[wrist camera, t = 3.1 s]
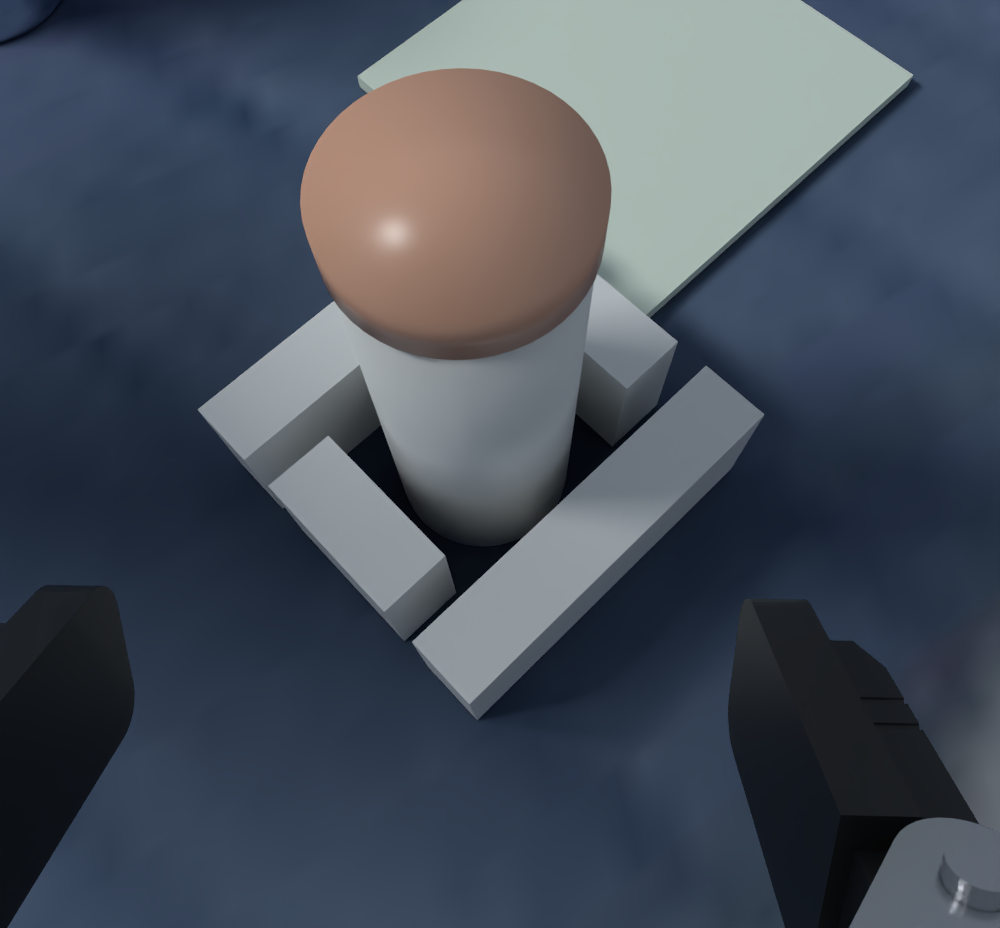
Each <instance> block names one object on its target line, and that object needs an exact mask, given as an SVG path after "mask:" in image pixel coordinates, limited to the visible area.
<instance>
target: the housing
mask: <svg viewBox="0 0 1000 928" xmlns="http://www.w3.org/2000/svg"><path fill="white" fill-rule="evenodd" d="M677 343H678V341H676V340H675V339H674V338H673V337H672V336H670V335H669V334H668V333H667V332H666V331H665V330H663V329H662V328H661V327H660V326H659V325H657V324H656V323H655V322H654V321H653V320H651V319H650V318H649V317H648V316H647V315H645V314H644V313H643V312H642V311H641V310H640V309H638V308H637V307H636V306H635V305H634V304H632V303H631V302H630V301H629V300H628V299H626V298H625V297H624V296H623V295H622V294H620V293H619V292H618V291H617V290H616V289H615V288H613V287H612V286H611V285H610V284H609V283H607V282H606V281H605V280H604V279H603V278H601V277H600V276H599V275H598V274H597V276H596V279H595V281H594V285H593V292H592V299H591V306H590V313H589V320H588V327H587V334H586V341H585V348H584V356H583V363H582V370H581V377H580V384H579V391H578V398H577V405H576V412H575V413H576V414H577V415H578V416H579V417H580V418H581V419H582V420H583V421H585V422H586V423H587V424H588V425H589V426H590V427H591V428H592V429H593V430H594V431H596V432H597V433H598V434H599V435H600V436H601V437H602V438H603V439H604V440H605V441H607V442H608V443H609V444H610V445H611V446H613V445H615V444H616V443H617V442H618V441H619V440H620V439H621V438H622V437H623V436H624V435H625V434H626V433H627V432H628V431H629V430H631V429H632V428H633V427H634V426H635V425H636V424H637V423H638V422H639V421H640V420H641V419H642V418H643V417H644V416H645V415H647V414H648V413H649V412H650V411H651V410H652V409H653V408H654V407H655V406H656V405H657V403H658V400H659V397H660V394H661V391H662V388H663V385H664V382H665V379H666V376H667V373H668V370H669V367H670V364H671V361H672V358H673V355H674V352H675V349H676V346H677ZM197 410H198V411H199V412H200V413H201V415H202V416H203V417H204V418H205V419H206V421H207V422H208V423H209V424H210V426H211V427H212V428H213V429H214V431H215V432H216V433H217V434H218V435H219V437H220V438H221V439H222V440H223V442H224V443H225V444H226V445H227V447H228V448H229V449H230V450H231V452H232V453H233V454H234V455H235V456H236V458H237V459H238V460H239V461H240V463H241V464H242V465H243V466H244V467H245V468H246V469H247V470H248V472H249V473H250V474H251V475H252V476H253V477H254V478H255V479H256V480H257V481H258V482H259V483H260V485H261V486H262V487H263V488H264V489H265V490H266V491H267V492H268V493H269V494H270V495H271V497H272V498H273V499H274V500H275V501H276V502H277V503H278V504H279V505H280V506H281V507H282V509H283V508H284V507H285V508H286V510H287V511H288V512H289V513H290V515H291V516H292V517H293V519H294V520H295V521H296V522H297V524H298V525H299V526H300V527H301V529H302V530H303V531H304V532H305V534H306V535H307V536H308V537H309V538H310V539H311V540H312V541H313V542H314V543H315V544H316V546H317V547H318V548H319V549H320V550H321V551H322V552H323V553H324V554H325V555H326V556H327V557H328V559H329V560H330V561H331V562H332V563H333V564H334V565H335V566H336V567H337V568H338V569H339V571H340V572H341V573H342V574H343V575H344V576H345V577H346V578H347V579H348V580H349V581H350V582H351V584H352V585H353V586H354V587H355V588H356V589H357V590H358V591H359V592H360V593H361V594H362V596H363V597H364V598H365V599H366V600H367V601H368V602H369V603H370V604H371V605H372V606H373V608H374V609H375V610H376V611H377V612H378V613H379V614H380V615H381V616H382V617H383V618H384V619H385V621H386V622H387V623H388V624H389V625H390V626H391V627H392V628H393V629H394V630H395V631H396V633H397V634H398V635H399V636H400V637H401V638H402V639H403V640H404V641H405V640H406V639H407V638H408V637H410V636H411V635H412V634H413V633H414V632H415V631H416V630H417V629H418V628H419V627H420V626H421V625H422V624H423V623H424V622H426V621H427V620H428V619H429V618H430V617H431V616H432V615H433V614H434V613H435V612H436V611H437V610H438V609H439V608H441V607H442V606H443V605H444V604H445V603H446V602H447V601H448V600H449V599H450V598H451V597H452V596H453V595H454V594H455V593H456V590H455V587H454V583H453V580H452V577H451V573H450V570H449V567H448V563H447V560H446V557H445V555H444V554H443V553H442V552H441V551H440V550H439V549H438V548H437V547H436V546H435V545H434V544H433V543H432V542H431V541H430V540H429V539H428V538H427V537H426V535H425V534H424V533H423V532H422V531H421V530H420V529H419V528H418V527H417V526H416V525H415V524H414V523H413V522H412V521H411V520H410V519H409V518H408V517H407V516H406V515H405V514H404V513H403V512H402V511H401V510H400V509H399V508H398V507H397V506H396V505H395V504H394V503H393V502H392V501H391V500H390V498H389V497H388V496H387V495H386V494H385V493H384V492H383V491H382V490H381V489H380V488H379V487H378V486H377V485H376V484H375V483H374V482H373V481H372V480H371V479H370V478H369V477H368V476H367V475H366V474H365V473H364V472H363V471H362V470H361V469H360V468H359V467H358V466H357V465H356V464H355V462H354V461H353V460H352V459H351V458H350V457H349V456H348V455H347V454H348V453H349V452H350V451H351V450H352V449H354V448H355V447H356V446H357V445H358V444H359V443H361V442H362V441H363V440H364V439H365V438H367V437H368V436H369V435H370V434H371V433H372V432H374V431H375V430H376V429H377V428H378V427H379V426H381V423H380V420H379V418H378V415H377V412H376V409H375V406H374V404H373V401H372V398H371V395H370V393H369V390H368V387H367V384H366V382H365V379H364V376H363V373H362V370H361V368H360V365H359V362H358V359H357V357H356V354H355V351H354V348H353V346H352V343H351V340H350V337H349V334H348V332H347V329H346V326H345V323H344V321H343V318H342V315H341V312H340V309H339V307H338V306H337V304H336V303H335V301H333V302H332V303H331V304H330V305H328V306H327V307H326V308H325V309H323V310H322V311H321V312H319V313H318V314H317V315H316V316H314V317H313V318H312V319H311V320H309V321H308V322H307V323H306V324H304V325H303V326H302V327H301V328H299V329H298V330H297V331H296V332H294V333H293V334H292V335H291V336H289V337H288V338H287V339H286V340H284V341H283V342H282V343H281V344H279V345H278V346H277V347H275V348H274V349H273V350H272V351H270V352H269V353H268V354H267V355H265V356H264V357H263V358H262V359H260V360H259V361H258V362H257V363H255V364H254V365H253V366H252V367H250V368H249V369H248V370H247V371H245V372H244V373H243V374H242V375H240V376H239V377H238V378H236V379H235V380H234V381H233V382H231V383H230V384H229V385H228V386H226V387H225V388H224V389H223V390H221V391H220V392H219V393H218V394H216V395H215V396H214V397H213V398H211V399H210V400H209V401H208V402H206V403H205V404H204V405H203V406H201V407H200V408H199V409H197ZM764 415H765V414H763V413H762V412H761V411H760V410H759V409H757V408H756V407H755V406H754V405H753V404H751V403H750V402H749V401H748V400H747V399H745V398H744V397H743V396H742V395H741V394H740V393H738V392H737V391H736V390H735V389H734V388H732V387H731V386H730V385H729V384H728V383H726V382H725V381H724V380H723V379H722V378H720V377H719V376H718V375H717V374H716V373H715V372H713V371H712V370H711V369H710V368H709V367H707V366H705V367H704V368H703V369H702V370H701V371H700V372H699V373H698V374H697V375H695V376H694V377H693V378H692V379H691V380H690V381H689V382H688V383H687V384H686V385H685V386H684V387H683V388H682V389H681V390H680V391H678V392H677V393H676V394H675V395H674V396H673V397H672V398H671V399H670V400H669V401H668V402H667V403H666V404H665V405H664V406H662V407H661V408H660V409H659V410H658V411H657V412H656V413H655V414H654V415H653V416H652V417H651V418H650V419H649V420H648V421H647V422H645V423H644V424H643V425H642V426H641V427H640V428H639V429H638V430H637V431H636V432H635V433H634V434H633V435H632V436H631V437H629V438H628V439H627V440H626V441H625V442H624V443H623V444H622V445H621V446H620V447H619V448H618V449H617V450H616V451H615V452H614V453H612V454H611V455H610V456H609V457H608V458H607V459H606V460H605V461H604V462H603V463H602V464H601V465H600V466H599V467H598V468H596V469H595V470H594V471H593V472H592V473H591V474H590V475H589V476H588V477H587V478H586V479H585V480H584V481H583V482H582V483H581V484H579V485H578V486H577V487H576V488H575V489H574V490H573V491H572V492H571V493H570V494H569V495H568V496H567V497H566V498H565V499H563V500H562V501H561V502H560V503H559V504H558V505H557V506H556V507H555V508H554V509H553V510H552V511H551V512H550V513H549V514H548V515H546V516H545V517H544V518H543V519H542V520H541V521H540V522H539V523H538V524H537V525H536V526H535V527H534V528H533V529H532V530H530V531H529V532H528V533H527V534H526V535H525V536H524V537H523V538H522V539H521V540H520V541H519V542H518V543H517V544H516V545H515V546H513V547H512V548H511V549H510V550H509V551H508V552H507V553H506V554H505V555H504V556H503V557H502V558H501V559H500V560H499V561H497V562H496V563H495V564H494V565H493V566H492V567H491V568H490V569H489V570H488V571H487V572H486V573H485V574H484V575H483V576H482V577H480V578H479V579H478V580H477V581H476V582H475V583H474V584H473V585H472V586H471V587H470V588H469V589H468V590H467V591H466V592H464V593H463V594H462V595H461V596H460V597H459V598H458V599H457V600H456V601H455V602H454V603H453V604H452V605H451V606H450V607H449V608H447V609H446V610H445V611H444V612H443V613H442V614H441V615H440V616H439V617H438V618H437V619H436V620H435V621H434V622H433V623H431V624H430V625H429V626H428V627H427V628H426V629H425V630H424V631H423V632H422V633H421V634H420V635H419V636H418V637H417V638H416V639H414V640H413V641H412V643H413V645H414V646H415V648H416V649H417V651H418V652H419V654H420V655H421V657H422V658H423V660H424V661H425V663H426V664H427V666H428V667H429V668H430V670H431V671H432V672H433V673H434V674H435V675H436V676H437V677H438V678H439V679H440V680H441V681H442V683H443V684H444V685H445V686H446V687H447V688H448V689H449V690H450V691H451V692H452V693H453V695H454V696H455V697H456V698H457V699H458V700H459V701H460V702H461V703H462V704H463V705H464V707H465V708H466V709H467V710H468V711H469V712H470V713H471V714H472V715H473V716H474V717H475V718H476V720H478V719H479V718H480V717H481V716H482V715H483V714H484V713H485V712H486V711H487V710H488V709H489V708H490V707H491V706H492V705H493V704H494V703H495V702H496V701H497V700H498V699H499V698H500V697H501V696H502V695H503V694H504V693H505V692H506V691H507V690H508V689H510V688H511V687H512V686H513V685H514V684H515V683H516V682H517V681H518V680H519V679H520V678H521V677H522V676H523V675H524V674H525V673H526V672H527V671H528V670H529V669H530V668H531V667H532V666H533V665H534V664H535V663H536V662H537V661H538V660H539V659H540V658H541V657H542V656H543V655H544V654H545V653H546V652H547V651H548V650H549V649H550V648H551V647H552V646H553V645H554V644H555V643H556V642H557V641H558V640H559V639H560V638H561V637H562V636H563V635H564V634H565V633H566V632H567V631H568V630H569V629H570V628H571V627H572V626H573V625H574V624H575V623H576V622H577V621H578V620H579V619H580V618H581V617H582V616H583V615H584V614H585V613H586V612H587V611H588V610H589V609H590V608H591V607H592V606H593V605H594V604H595V603H596V602H597V601H598V600H599V599H600V598H601V597H602V596H603V595H604V594H605V593H606V592H607V591H608V590H609V589H610V588H611V587H612V586H613V585H614V584H615V583H616V582H618V581H619V580H620V579H621V578H622V577H623V576H624V575H625V574H626V573H627V572H628V571H629V570H630V569H631V568H632V567H633V566H634V565H635V564H636V563H637V562H638V561H639V560H640V559H641V558H642V557H643V556H644V555H645V554H646V553H647V552H648V551H649V550H650V549H651V548H652V547H653V546H654V545H655V544H656V543H657V542H658V541H659V540H660V539H661V538H662V537H663V536H664V535H665V534H666V533H667V532H668V531H669V530H670V529H671V528H672V527H673V526H674V525H675V524H676V523H677V522H678V521H679V520H680V519H681V518H682V517H683V516H684V515H685V514H686V513H687V512H688V511H689V510H690V509H691V508H692V507H693V506H694V505H695V504H696V503H697V502H698V501H699V500H700V499H701V498H702V497H703V496H704V495H705V494H706V493H707V492H708V491H709V490H710V489H711V488H712V487H713V486H714V485H715V484H716V483H717V482H718V481H719V480H720V479H721V478H722V477H723V476H724V475H726V474H727V473H728V472H729V471H730V470H731V468H732V466H733V465H734V463H735V461H736V460H737V458H738V457H739V455H740V453H741V452H742V450H743V449H744V447H745V445H746V444H747V442H748V440H749V439H750V437H751V436H752V434H753V432H754V431H755V429H756V428H757V426H758V424H759V423H760V421H761V419H762V418H763V416H764Z"/></svg>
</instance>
